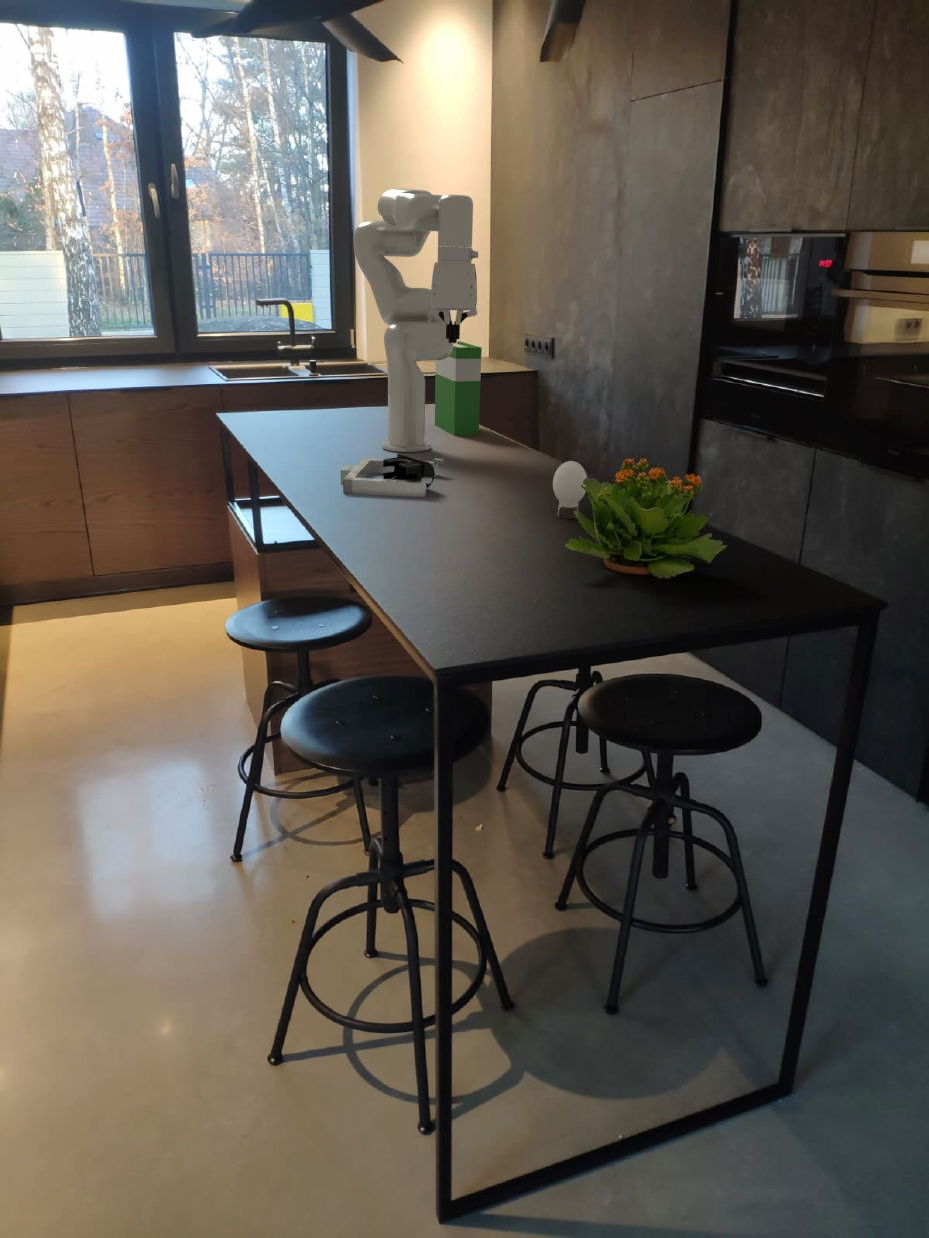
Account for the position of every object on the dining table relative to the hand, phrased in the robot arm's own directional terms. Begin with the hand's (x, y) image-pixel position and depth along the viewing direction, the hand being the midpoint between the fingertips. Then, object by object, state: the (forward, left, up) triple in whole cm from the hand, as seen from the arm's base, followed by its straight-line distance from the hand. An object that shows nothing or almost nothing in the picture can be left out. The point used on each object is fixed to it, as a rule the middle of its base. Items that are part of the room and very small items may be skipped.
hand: (452, 342), depth 215 cm
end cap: (+21, -7, -29) cm, 37 cm away
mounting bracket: (+18, -11, -29) cm, 36 cm away
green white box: (-52, -4, -29) cm, 60 cm away
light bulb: (+38, +28, -29) cm, 56 cm away
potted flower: (+68, +38, -29) cm, 83 cm away
